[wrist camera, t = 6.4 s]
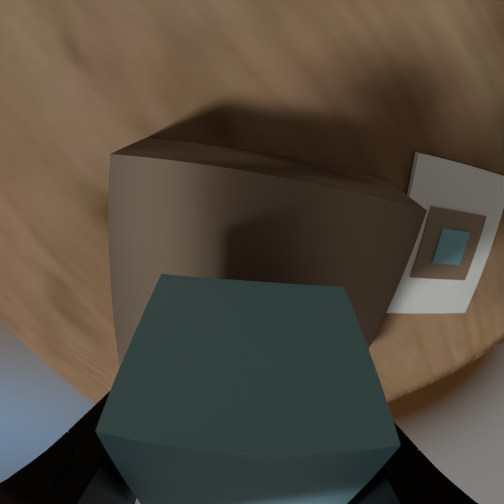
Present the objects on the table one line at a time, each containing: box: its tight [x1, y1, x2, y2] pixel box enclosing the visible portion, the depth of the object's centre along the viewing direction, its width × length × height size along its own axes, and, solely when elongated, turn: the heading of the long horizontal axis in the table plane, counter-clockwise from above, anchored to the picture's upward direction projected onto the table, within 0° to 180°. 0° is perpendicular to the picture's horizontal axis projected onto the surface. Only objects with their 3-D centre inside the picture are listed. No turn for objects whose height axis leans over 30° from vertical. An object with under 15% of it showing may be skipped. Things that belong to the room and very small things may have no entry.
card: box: [386, 152, 504, 313], centre depth 14 cm, size 6×8×1 cm
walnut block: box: [109, 138, 427, 366], centre depth 13 cm, size 10×10×4 cm
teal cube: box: [96, 274, 401, 504], centre depth 8 cm, size 5×5×5 cm
